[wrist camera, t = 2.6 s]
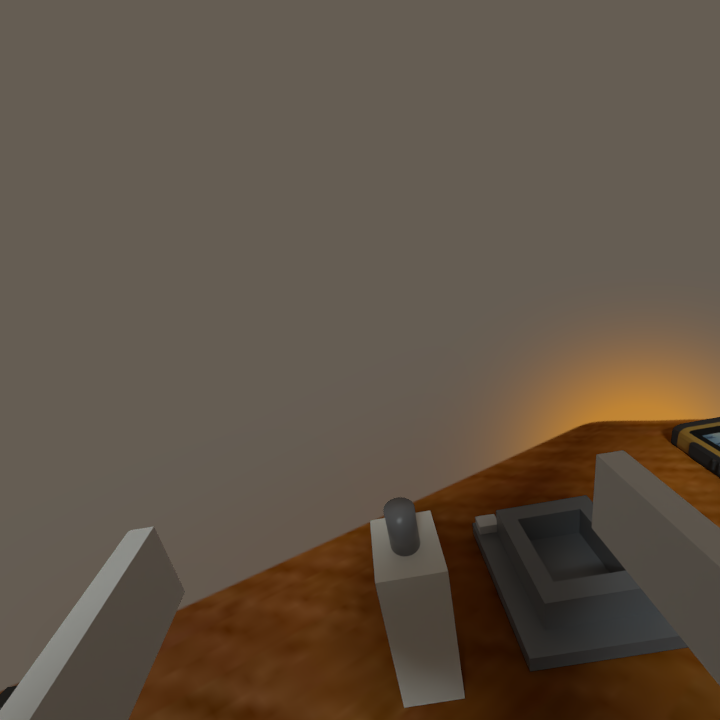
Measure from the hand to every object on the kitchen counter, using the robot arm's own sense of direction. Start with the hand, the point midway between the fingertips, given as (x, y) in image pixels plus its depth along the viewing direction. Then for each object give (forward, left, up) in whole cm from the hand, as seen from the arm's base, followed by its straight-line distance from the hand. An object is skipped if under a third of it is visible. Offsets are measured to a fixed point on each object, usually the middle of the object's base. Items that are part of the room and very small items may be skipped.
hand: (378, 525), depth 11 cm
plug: (-1, -10, -25) cm, 27 cm away
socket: (-15, -15, -25) cm, 33 cm away
